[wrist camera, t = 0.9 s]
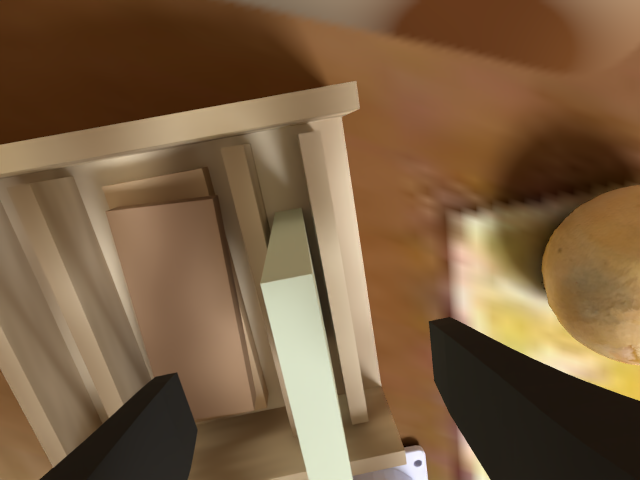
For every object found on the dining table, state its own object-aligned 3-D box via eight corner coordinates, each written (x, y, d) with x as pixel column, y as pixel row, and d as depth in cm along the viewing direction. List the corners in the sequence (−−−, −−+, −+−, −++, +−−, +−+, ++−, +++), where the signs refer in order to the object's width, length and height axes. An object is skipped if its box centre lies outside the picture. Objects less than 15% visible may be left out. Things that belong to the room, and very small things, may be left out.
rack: (336, 98, 15) (356, 80, 10) (380, 390, 19) (406, 464, 15) (-37, 165, 14) (-182, 177, 10) (97, 449, 19) (39, 543, 14)
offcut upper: (217, 195, 14) (212, 199, 13) (256, 395, 17) (254, 410, 16) (118, 206, 14) (105, 211, 13) (174, 407, 17) (167, 423, 16)
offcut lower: (207, 166, 15) (201, 168, 14) (268, 393, 18) (267, 407, 17) (114, 183, 14) (101, 186, 14) (193, 409, 18) (188, 424, 17)
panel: (301, 207, 15) (312, 273, 8) (327, 340, 17) (356, 495, 10) (275, 212, 15) (260, 283, 8) (304, 344, 17) (315, 504, 10)
